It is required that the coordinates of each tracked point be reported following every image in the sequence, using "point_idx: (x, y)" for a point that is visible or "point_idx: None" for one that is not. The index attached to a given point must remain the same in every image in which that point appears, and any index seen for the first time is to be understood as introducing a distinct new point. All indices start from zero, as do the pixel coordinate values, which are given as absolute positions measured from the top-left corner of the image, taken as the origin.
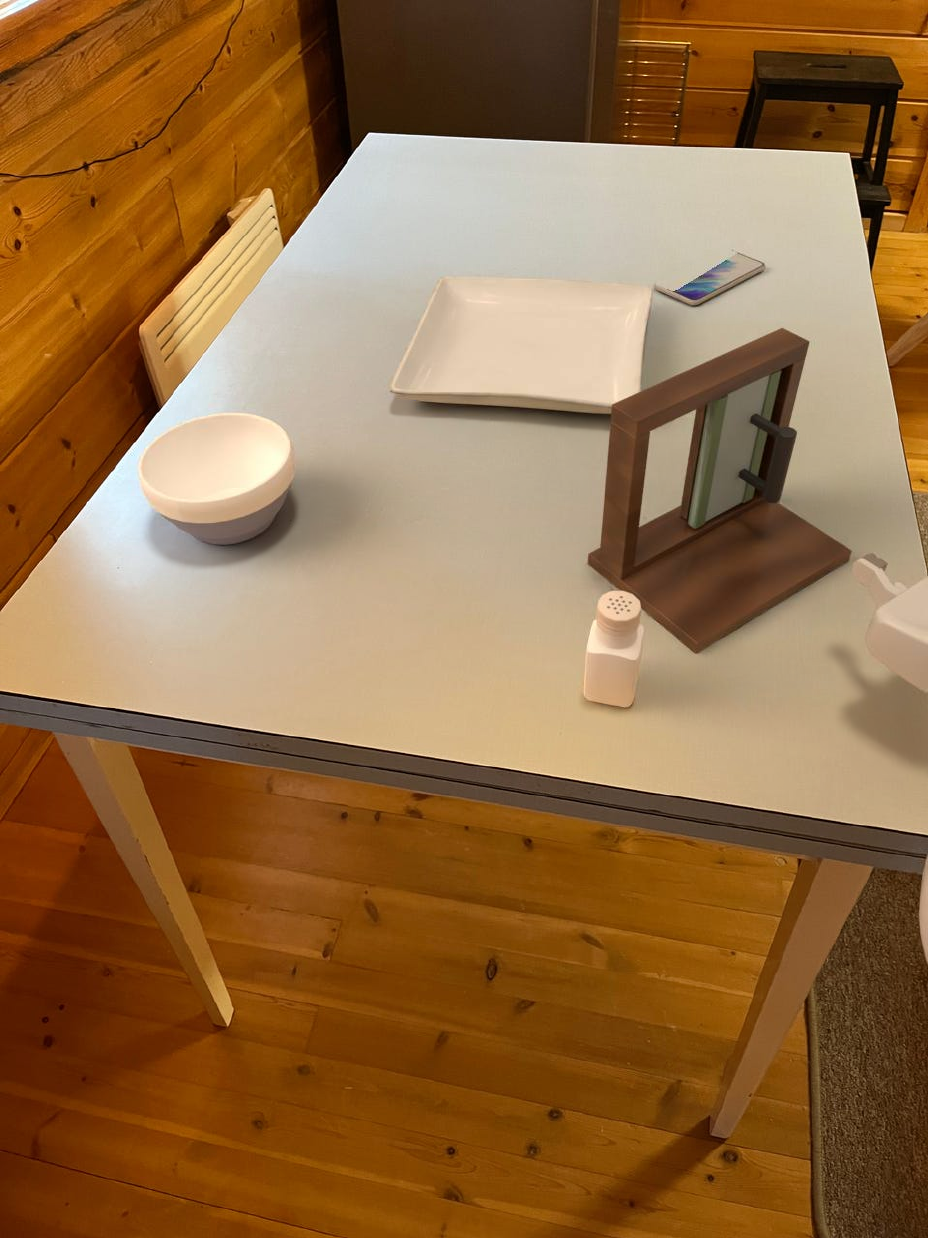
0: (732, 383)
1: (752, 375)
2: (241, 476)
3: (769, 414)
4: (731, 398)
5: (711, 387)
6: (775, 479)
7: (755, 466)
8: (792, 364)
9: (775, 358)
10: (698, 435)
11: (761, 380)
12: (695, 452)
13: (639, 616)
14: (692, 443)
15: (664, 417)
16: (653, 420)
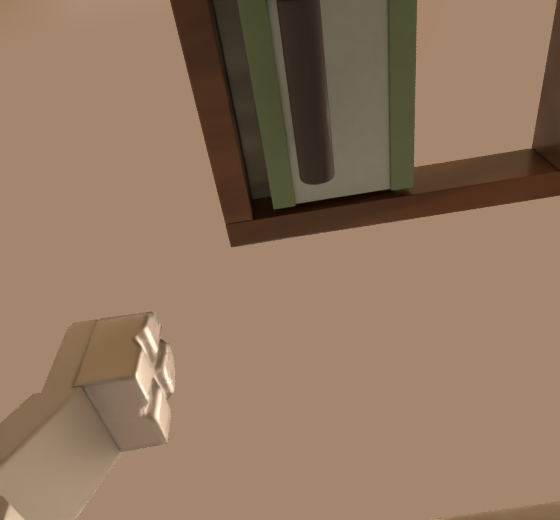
0: (393, 213)
1: (349, 217)
2: None
3: (267, 133)
4: (376, 179)
5: (438, 214)
6: (323, 71)
7: (254, 7)
8: (252, 216)
9: (304, 233)
10: None
11: (311, 196)
12: None
13: None
14: None
15: (530, 187)
16: (552, 187)
